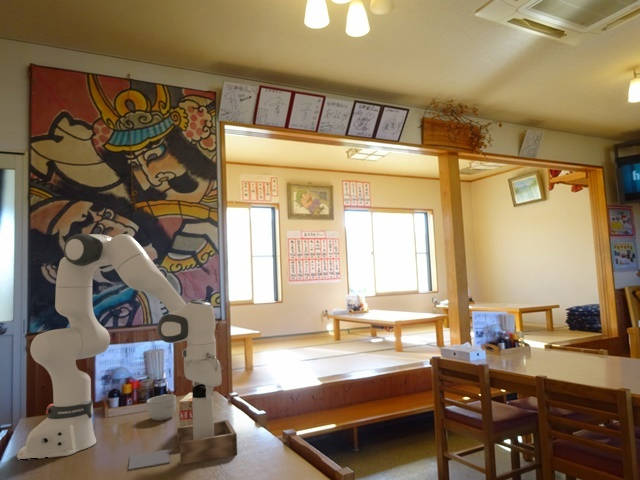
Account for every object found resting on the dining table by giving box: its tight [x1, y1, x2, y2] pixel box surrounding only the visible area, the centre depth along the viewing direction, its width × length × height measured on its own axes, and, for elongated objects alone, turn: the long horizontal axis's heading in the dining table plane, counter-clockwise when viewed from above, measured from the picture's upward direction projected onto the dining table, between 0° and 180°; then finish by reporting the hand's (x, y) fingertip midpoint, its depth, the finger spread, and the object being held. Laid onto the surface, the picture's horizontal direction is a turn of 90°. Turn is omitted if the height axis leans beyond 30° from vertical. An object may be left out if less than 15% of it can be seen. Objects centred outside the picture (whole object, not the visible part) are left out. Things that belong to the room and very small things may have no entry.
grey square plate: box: [128, 449, 170, 471], centre depth 136 cm, size 11×11×1 cm
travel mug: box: [192, 384, 215, 440], centre depth 142 cm, size 6×7×20 cm
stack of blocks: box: [178, 392, 193, 427], centre depth 167 cm, size 21×6×12 cm, turn 0°
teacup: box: [146, 394, 177, 422], centre depth 182 cm, size 14×11×8 cm
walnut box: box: [176, 419, 238, 466], centre depth 142 cm, size 16×16×6 cm
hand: (203, 397), depth 143 cm, fingers closed on travel mug, 6 cm apart
